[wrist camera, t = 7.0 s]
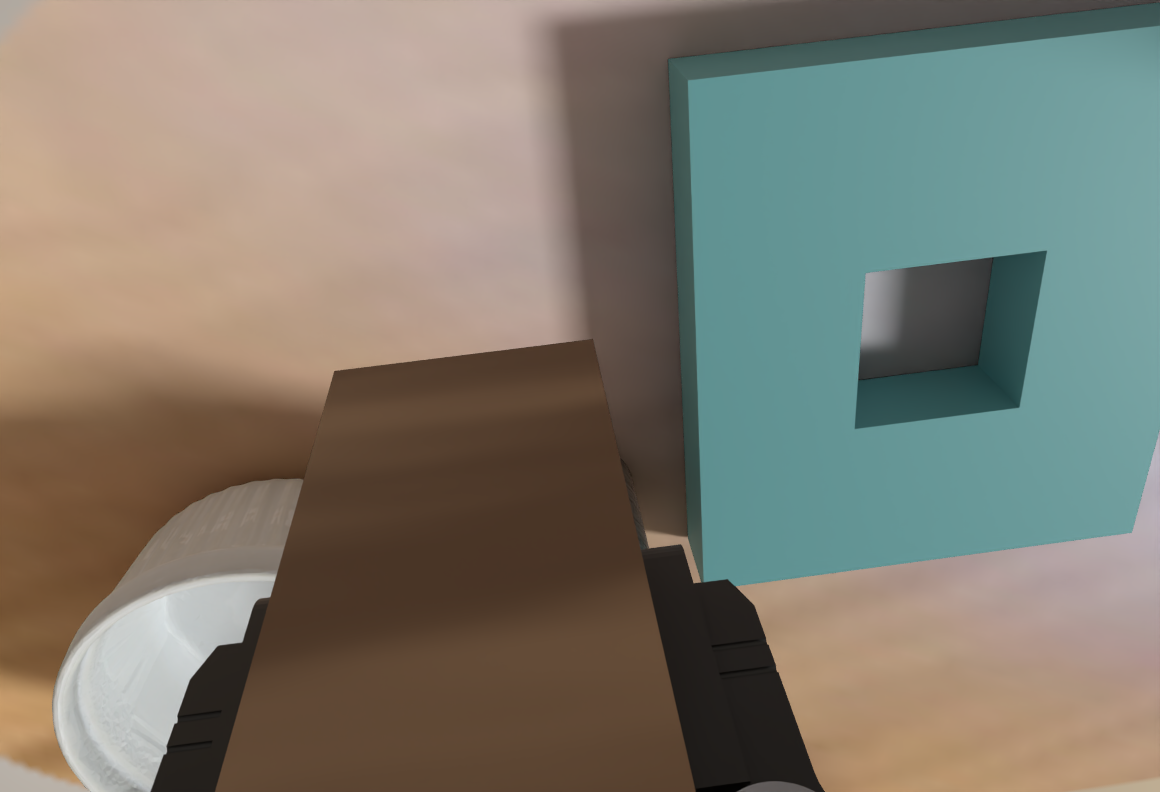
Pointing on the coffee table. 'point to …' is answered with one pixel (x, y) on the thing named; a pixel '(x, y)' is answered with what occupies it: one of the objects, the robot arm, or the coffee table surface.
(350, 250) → the coffee table surface
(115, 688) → the ramekin
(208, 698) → the robot arm
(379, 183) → the coffee table surface
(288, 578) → the square peg
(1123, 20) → the socket block
